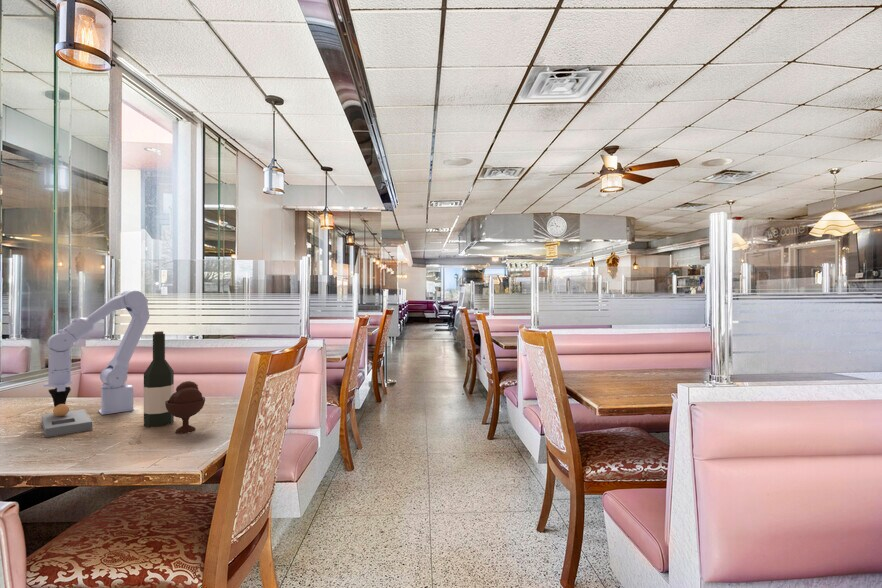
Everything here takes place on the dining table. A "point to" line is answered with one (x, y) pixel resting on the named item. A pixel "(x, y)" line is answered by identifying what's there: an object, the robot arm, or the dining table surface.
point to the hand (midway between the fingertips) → (59, 409)
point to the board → (66, 423)
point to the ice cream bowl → (185, 404)
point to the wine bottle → (158, 386)
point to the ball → (61, 410)
